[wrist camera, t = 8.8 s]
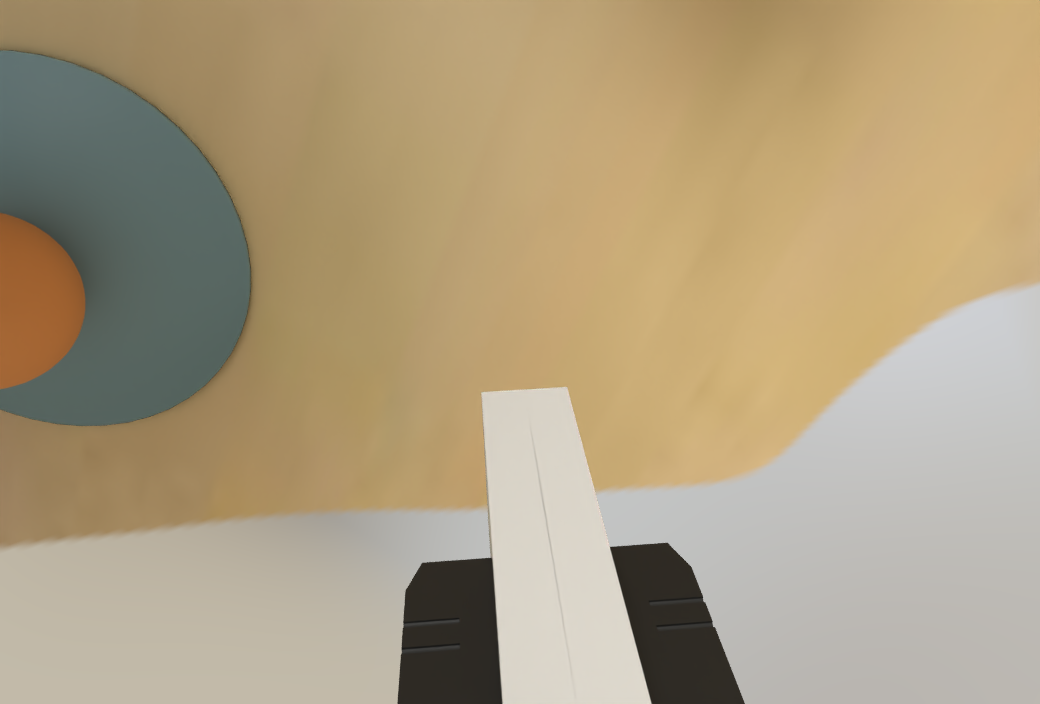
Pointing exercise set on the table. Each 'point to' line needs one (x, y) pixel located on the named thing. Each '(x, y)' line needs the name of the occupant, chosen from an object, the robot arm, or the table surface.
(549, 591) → the robot arm
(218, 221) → the mark
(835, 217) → the table surface
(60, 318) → the ball
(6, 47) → the table surface
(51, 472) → the table surface
